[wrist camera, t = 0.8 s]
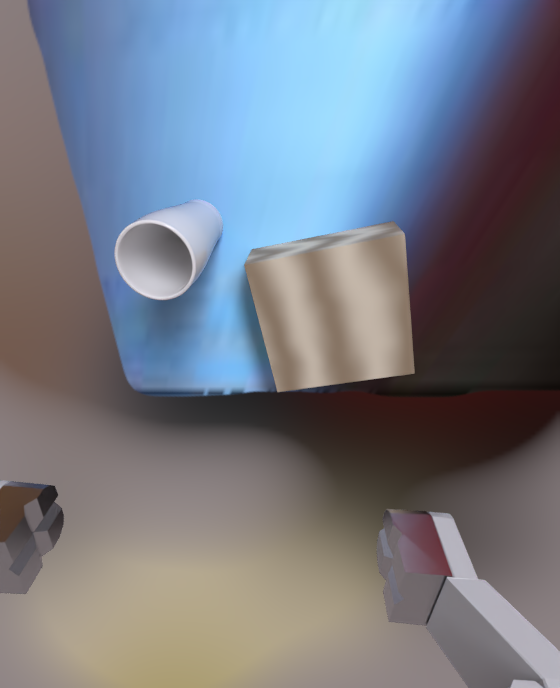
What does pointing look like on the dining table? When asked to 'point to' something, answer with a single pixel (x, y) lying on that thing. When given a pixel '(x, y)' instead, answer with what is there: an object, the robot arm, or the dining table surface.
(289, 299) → the birch block
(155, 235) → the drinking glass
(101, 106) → the dining table surface
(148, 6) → the dining table surface
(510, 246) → the dining table surface
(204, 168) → the dining table surface
